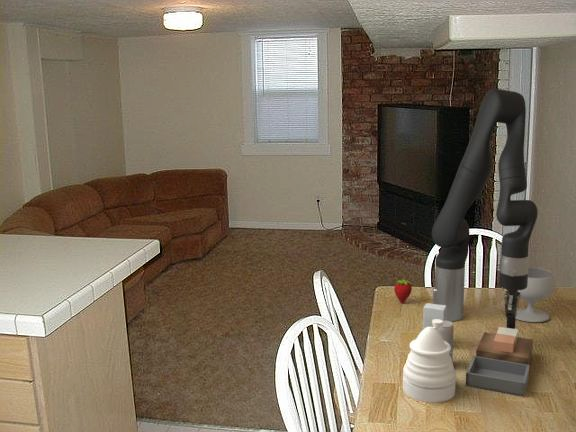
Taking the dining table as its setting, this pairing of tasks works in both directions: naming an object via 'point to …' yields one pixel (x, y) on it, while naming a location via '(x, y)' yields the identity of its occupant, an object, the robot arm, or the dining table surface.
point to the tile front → (504, 343)
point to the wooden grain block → (519, 354)
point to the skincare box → (433, 314)
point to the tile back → (508, 332)
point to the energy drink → (447, 334)
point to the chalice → (536, 294)
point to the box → (498, 375)
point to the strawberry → (402, 290)
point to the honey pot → (429, 367)
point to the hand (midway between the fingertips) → (510, 328)
